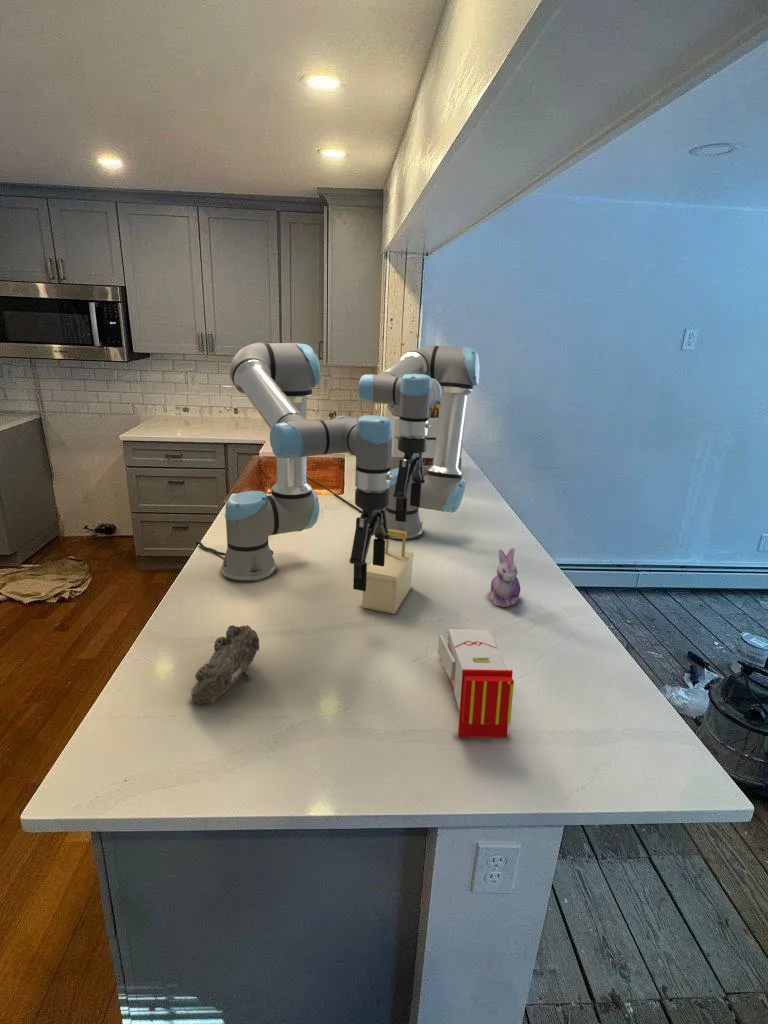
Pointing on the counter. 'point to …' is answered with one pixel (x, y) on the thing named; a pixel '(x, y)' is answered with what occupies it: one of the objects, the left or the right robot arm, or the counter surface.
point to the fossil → (225, 663)
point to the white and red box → (478, 682)
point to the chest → (387, 591)
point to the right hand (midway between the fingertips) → (408, 513)
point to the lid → (392, 560)
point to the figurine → (505, 581)
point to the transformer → (428, 455)
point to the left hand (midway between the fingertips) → (369, 576)
